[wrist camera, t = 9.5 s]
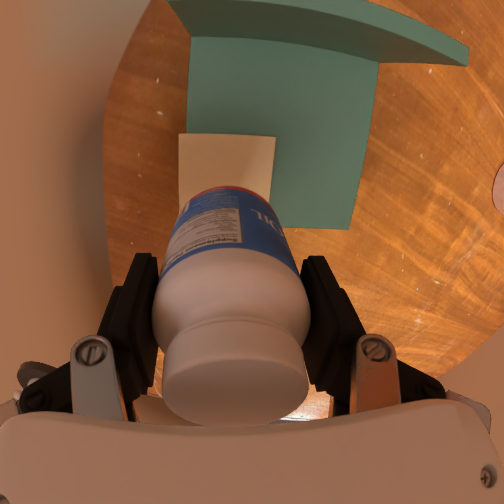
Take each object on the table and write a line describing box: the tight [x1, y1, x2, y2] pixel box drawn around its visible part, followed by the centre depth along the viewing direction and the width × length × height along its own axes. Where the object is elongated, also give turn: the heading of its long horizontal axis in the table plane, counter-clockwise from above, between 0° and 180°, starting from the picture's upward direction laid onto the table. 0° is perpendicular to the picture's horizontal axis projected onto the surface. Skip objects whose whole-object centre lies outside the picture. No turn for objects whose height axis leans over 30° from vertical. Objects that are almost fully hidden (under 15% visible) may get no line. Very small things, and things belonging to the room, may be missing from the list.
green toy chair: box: [167, 0, 469, 230], centre depth 18 cm, size 14×16×14 cm
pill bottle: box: [151, 185, 311, 426], centre depth 11 cm, size 6×5×10 cm
